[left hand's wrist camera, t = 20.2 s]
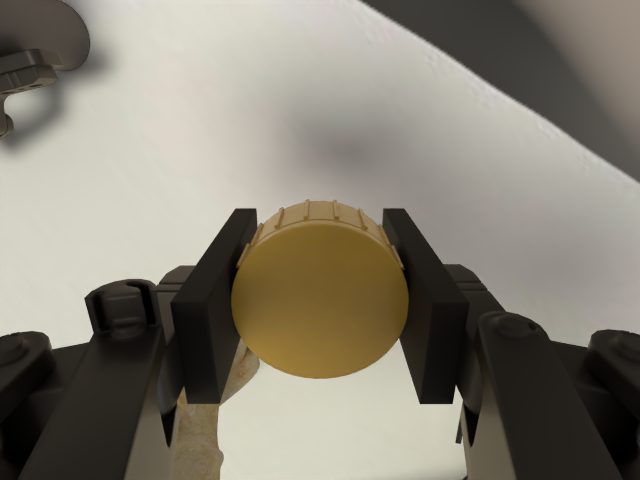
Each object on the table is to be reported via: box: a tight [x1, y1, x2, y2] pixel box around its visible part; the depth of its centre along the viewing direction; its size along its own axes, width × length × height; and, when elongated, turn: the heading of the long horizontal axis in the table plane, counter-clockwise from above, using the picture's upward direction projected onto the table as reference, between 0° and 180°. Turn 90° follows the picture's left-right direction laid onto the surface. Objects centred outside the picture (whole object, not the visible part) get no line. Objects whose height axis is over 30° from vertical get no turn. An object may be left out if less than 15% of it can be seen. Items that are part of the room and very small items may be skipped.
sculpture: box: [172, 338, 260, 480], centre depth 26 cm, size 6×7×15 cm
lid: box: [231, 200, 409, 379], centre depth 11 cm, size 5×5×2 cm
